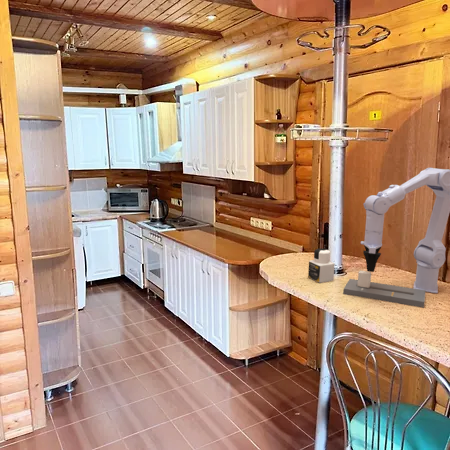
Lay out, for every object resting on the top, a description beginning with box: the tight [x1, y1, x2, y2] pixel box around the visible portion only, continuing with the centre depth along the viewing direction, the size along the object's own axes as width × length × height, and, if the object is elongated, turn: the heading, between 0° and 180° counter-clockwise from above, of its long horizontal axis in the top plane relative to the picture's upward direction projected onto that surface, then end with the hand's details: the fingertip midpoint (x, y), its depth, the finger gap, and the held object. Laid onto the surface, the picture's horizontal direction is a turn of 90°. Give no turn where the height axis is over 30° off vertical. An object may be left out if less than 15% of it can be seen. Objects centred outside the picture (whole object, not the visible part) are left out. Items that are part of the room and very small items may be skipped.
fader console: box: [342, 278, 426, 309], centre depth 146 cm, size 12×26×2 cm, turn 63°
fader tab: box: [357, 270, 372, 288], centre depth 148 cm, size 3×4×5 cm
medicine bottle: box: [307, 248, 335, 284], centre depth 161 cm, size 7×7×12 cm
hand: (370, 268), depth 145 cm, fingers open, 7 cm apart
